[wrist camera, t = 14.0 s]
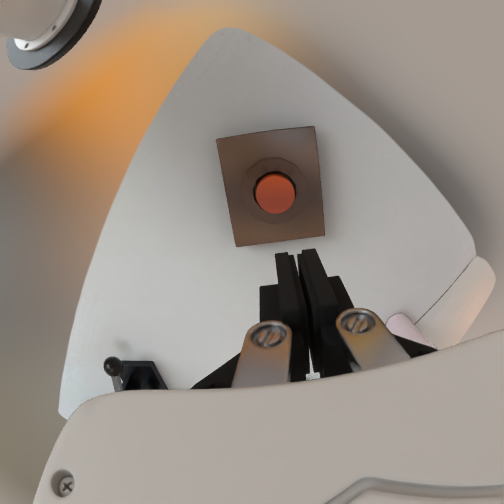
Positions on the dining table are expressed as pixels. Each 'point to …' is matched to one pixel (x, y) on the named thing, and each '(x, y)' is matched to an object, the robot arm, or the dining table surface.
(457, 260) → the dining table surface
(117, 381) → the lever
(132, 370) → the bracket
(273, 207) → the button
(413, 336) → the smoothie
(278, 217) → the button block
